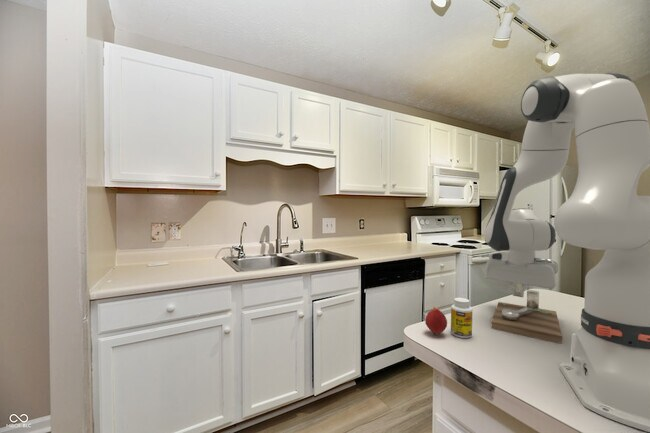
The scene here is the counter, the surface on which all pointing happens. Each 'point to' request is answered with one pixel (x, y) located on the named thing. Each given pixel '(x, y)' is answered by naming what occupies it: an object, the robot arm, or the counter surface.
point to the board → (529, 323)
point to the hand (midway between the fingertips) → (518, 296)
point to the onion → (436, 321)
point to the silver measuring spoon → (531, 306)
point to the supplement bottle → (461, 318)
